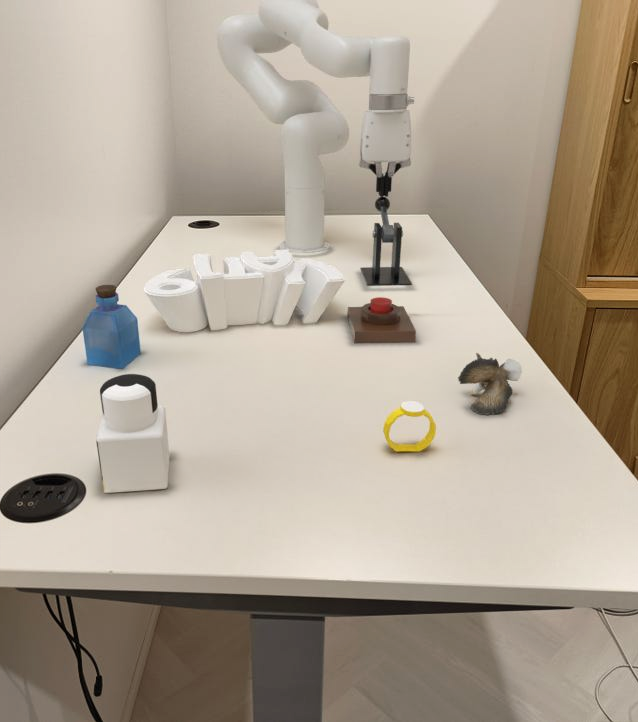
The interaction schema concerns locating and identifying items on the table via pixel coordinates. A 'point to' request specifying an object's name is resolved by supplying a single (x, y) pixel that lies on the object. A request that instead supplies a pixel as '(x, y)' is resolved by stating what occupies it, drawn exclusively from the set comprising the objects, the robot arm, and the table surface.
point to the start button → (380, 305)
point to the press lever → (385, 219)
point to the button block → (381, 325)
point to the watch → (414, 411)
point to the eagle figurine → (490, 383)
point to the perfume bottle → (110, 331)
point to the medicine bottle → (132, 436)
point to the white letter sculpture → (244, 291)
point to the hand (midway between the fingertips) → (383, 195)
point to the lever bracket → (395, 272)
